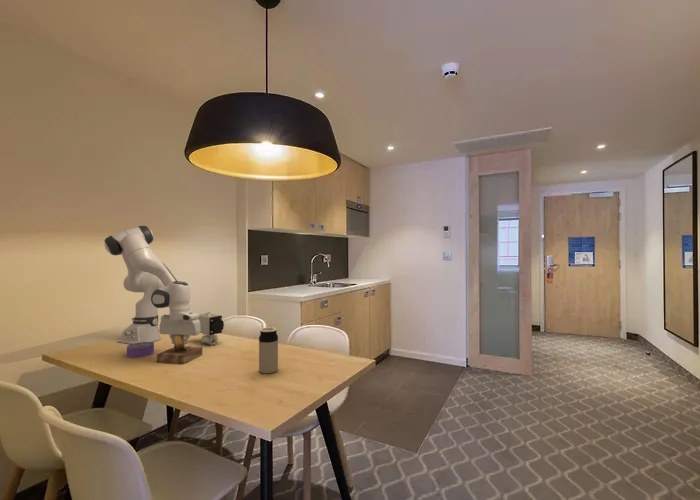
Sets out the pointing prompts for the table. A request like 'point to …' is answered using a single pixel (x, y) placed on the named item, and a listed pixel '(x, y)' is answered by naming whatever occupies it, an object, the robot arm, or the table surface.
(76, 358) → the table surface
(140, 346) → the tape roll
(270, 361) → the travel mug
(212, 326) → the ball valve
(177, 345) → the cylinder
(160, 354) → the block
